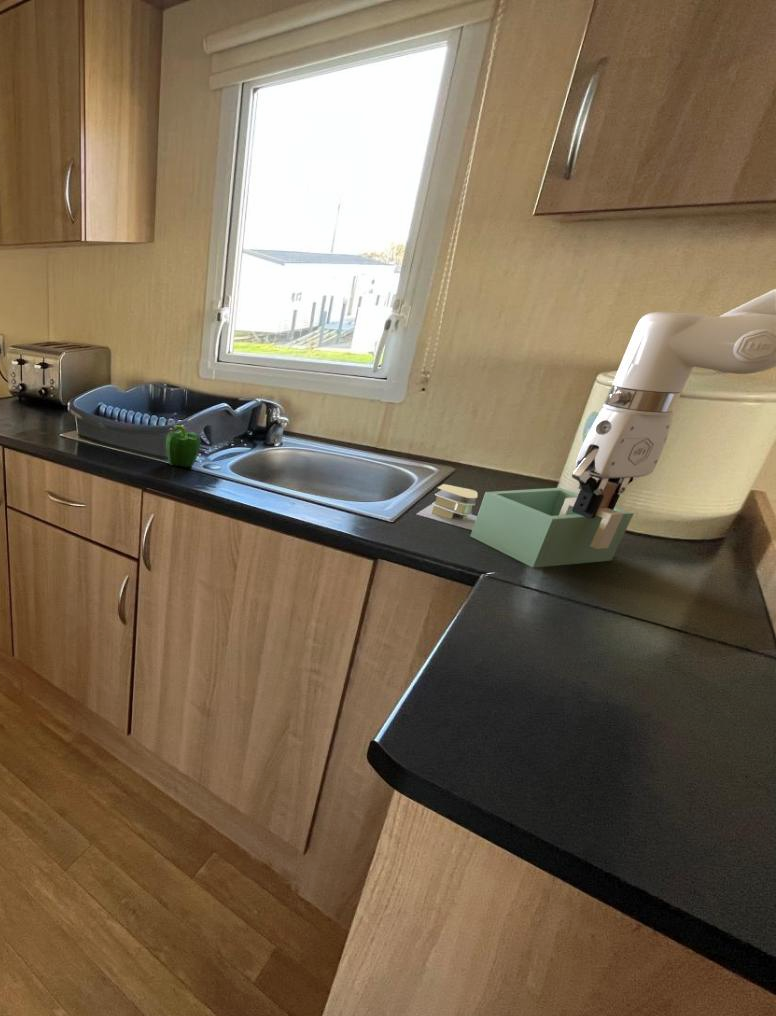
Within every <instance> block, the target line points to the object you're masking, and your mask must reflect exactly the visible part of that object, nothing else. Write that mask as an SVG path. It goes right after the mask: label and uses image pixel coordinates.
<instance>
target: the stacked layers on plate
mask: <svg viewBox="0 0 776 1016" xmlns="http://www.w3.org/2000/svg"><path fill="white" fill-rule="evenodd" d="M437 489H439V491H438V492H435V493H434V495H435V496H436V498H435V500H434V501H433V502H432V503H431V504H429V505H427V506H426V507H424V508H423V509H422V510H420V511H418V512H417V513H416V516H420V517H424V518H428V519H430V520H435V521H438V522H440V523H441V522H442V523H444V524H449V525H453V526H455V527H459V528H463V529H467V530H470V531H472V530H473V527H474V524H475V521H476V518H477V515H474V514H473V506H476V499H477V498H478V496H479V495H478V492H477V490H474V489H472V488H471V489H470V488H466V487H461V486H455V485H451V484H446V483H443V484H441V485H439V486H437Z"/></svg>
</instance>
